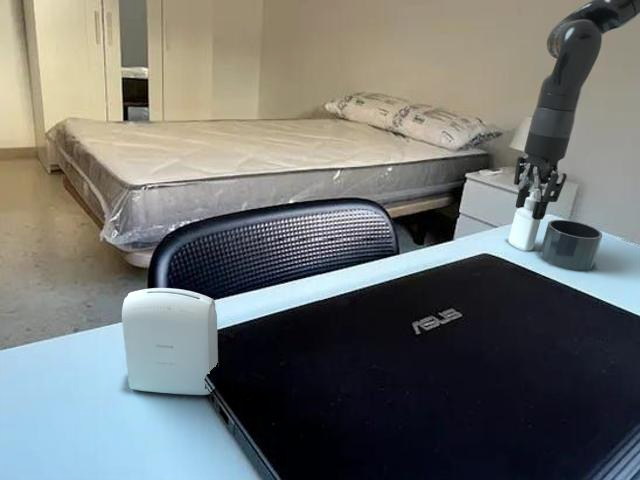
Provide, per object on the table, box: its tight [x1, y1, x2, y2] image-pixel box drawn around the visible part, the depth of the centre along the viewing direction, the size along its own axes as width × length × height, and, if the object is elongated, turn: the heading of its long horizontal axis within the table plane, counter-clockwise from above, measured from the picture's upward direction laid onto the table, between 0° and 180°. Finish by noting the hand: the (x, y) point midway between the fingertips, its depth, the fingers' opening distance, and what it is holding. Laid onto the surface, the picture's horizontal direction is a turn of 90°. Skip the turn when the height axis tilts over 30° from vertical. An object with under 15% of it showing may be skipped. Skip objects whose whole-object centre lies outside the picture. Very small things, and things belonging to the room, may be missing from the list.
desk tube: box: [539, 219, 603, 272], centre depth 99 cm, size 10×10×7 cm
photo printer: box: [121, 287, 219, 396], centre depth 56 cm, size 10×4×12 cm, turn 88°
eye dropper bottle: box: [508, 191, 541, 252], centre depth 104 cm, size 4×6×12 cm
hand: (528, 213), depth 103 cm, fingers open, 5 cm apart
